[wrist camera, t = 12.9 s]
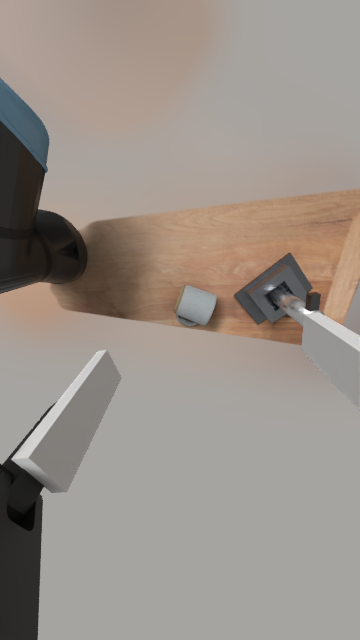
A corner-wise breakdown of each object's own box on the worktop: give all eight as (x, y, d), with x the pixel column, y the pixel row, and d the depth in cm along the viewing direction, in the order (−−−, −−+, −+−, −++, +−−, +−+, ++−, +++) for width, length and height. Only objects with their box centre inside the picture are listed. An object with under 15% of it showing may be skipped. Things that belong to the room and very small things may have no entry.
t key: (279, 306, 41) (321, 340, 27) (265, 309, 41) (299, 343, 28) (279, 273, 37) (328, 293, 24) (264, 276, 38) (303, 297, 24)
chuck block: (233, 294, 41) (238, 300, 37) (288, 252, 36) (300, 254, 32) (256, 322, 44) (263, 331, 40) (310, 287, 39) (323, 292, 35)
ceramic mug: (183, 279, 40) (181, 288, 34) (215, 290, 41) (219, 301, 34) (170, 317, 45) (166, 332, 38) (199, 326, 46) (200, 343, 39)
